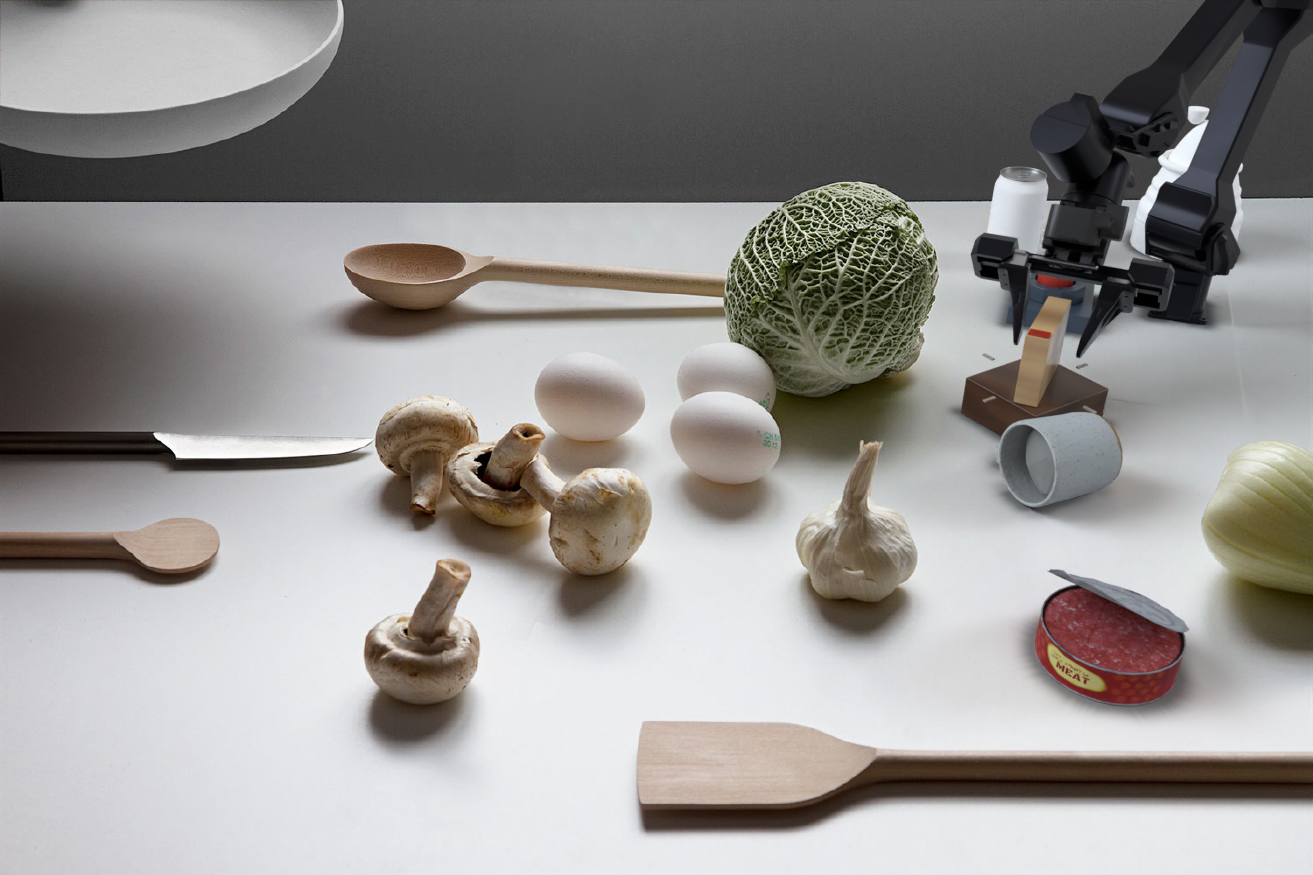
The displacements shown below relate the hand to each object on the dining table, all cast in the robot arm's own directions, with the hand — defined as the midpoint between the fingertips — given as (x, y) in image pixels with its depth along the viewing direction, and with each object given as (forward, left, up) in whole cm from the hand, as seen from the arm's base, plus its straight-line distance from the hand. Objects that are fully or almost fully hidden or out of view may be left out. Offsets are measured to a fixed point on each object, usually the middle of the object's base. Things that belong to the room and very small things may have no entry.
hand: (1046, 350), depth 110 cm
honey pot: (-52, +15, -7) cm, 54 cm away
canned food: (+36, +8, -7) cm, 38 cm away
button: (-25, 0, -3) cm, 25 cm away
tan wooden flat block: (+2, 0, -3) cm, 3 cm away
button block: (-25, 0, -7) cm, 26 cm away
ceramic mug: (+14, +2, -7) cm, 16 cm away
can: (-38, -6, -7) cm, 39 cm away
